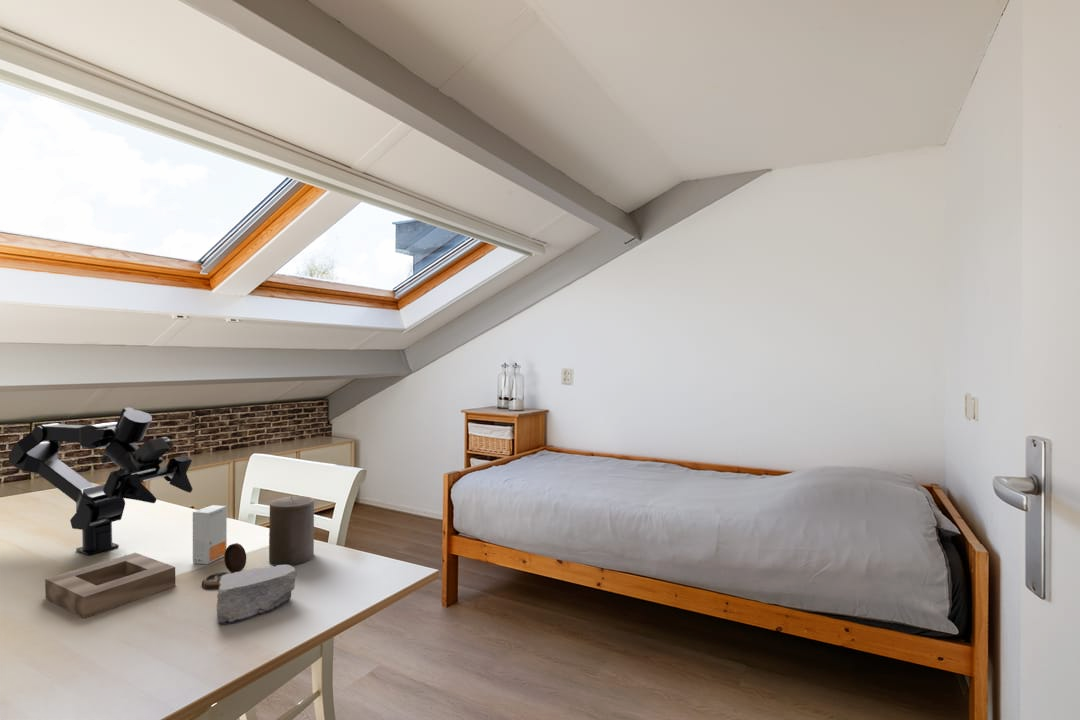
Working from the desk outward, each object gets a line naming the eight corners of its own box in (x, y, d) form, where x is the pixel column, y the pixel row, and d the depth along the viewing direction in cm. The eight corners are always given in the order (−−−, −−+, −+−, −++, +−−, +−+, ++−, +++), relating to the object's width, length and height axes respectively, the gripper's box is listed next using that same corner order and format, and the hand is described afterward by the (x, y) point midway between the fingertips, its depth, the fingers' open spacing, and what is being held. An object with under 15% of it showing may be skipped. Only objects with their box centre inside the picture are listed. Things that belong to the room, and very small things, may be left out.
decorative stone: (199, 619, 104) (228, 632, 99) (199, 582, 104) (227, 593, 99) (274, 591, 117) (303, 601, 111) (274, 557, 117) (302, 566, 111)
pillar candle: (276, 570, 126) (276, 503, 126) (263, 557, 133) (264, 494, 133) (320, 559, 132) (320, 496, 132) (305, 548, 140) (306, 488, 139)
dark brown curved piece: (194, 586, 117) (194, 552, 117) (229, 572, 125) (229, 540, 124) (220, 594, 114) (219, 558, 114) (254, 579, 121) (254, 545, 121)
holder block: (45, 598, 111) (45, 578, 111) (135, 570, 125) (135, 552, 125) (84, 618, 104) (83, 596, 103) (175, 585, 118) (175, 566, 117)
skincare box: (208, 565, 129) (207, 513, 128) (192, 563, 129) (191, 512, 129) (227, 555, 134) (227, 505, 134) (212, 553, 135) (211, 504, 135)
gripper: (101, 436, 124) (148, 477, 120) (178, 424, 142) (221, 459, 138) (83, 477, 126) (129, 518, 122) (161, 460, 143) (203, 496, 140)
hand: (173, 496), depth 130 cm, fingers open, 9 cm apart
